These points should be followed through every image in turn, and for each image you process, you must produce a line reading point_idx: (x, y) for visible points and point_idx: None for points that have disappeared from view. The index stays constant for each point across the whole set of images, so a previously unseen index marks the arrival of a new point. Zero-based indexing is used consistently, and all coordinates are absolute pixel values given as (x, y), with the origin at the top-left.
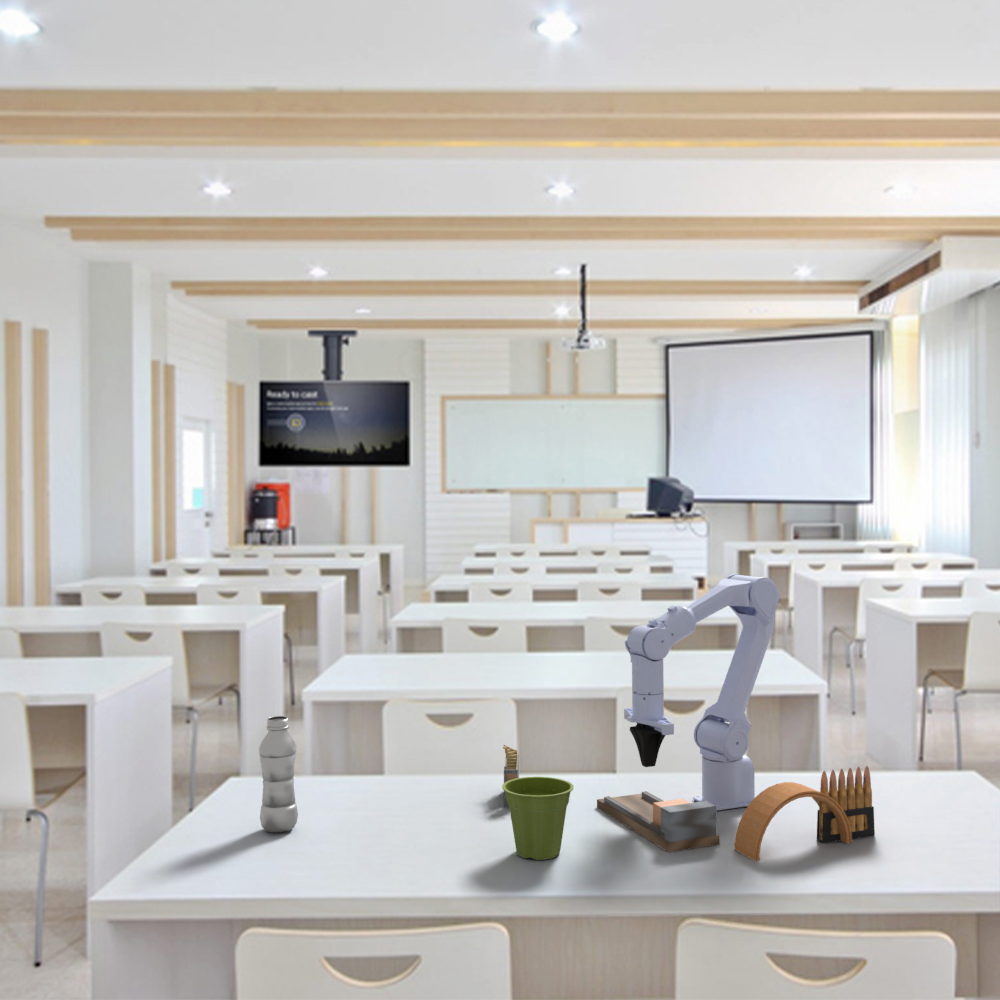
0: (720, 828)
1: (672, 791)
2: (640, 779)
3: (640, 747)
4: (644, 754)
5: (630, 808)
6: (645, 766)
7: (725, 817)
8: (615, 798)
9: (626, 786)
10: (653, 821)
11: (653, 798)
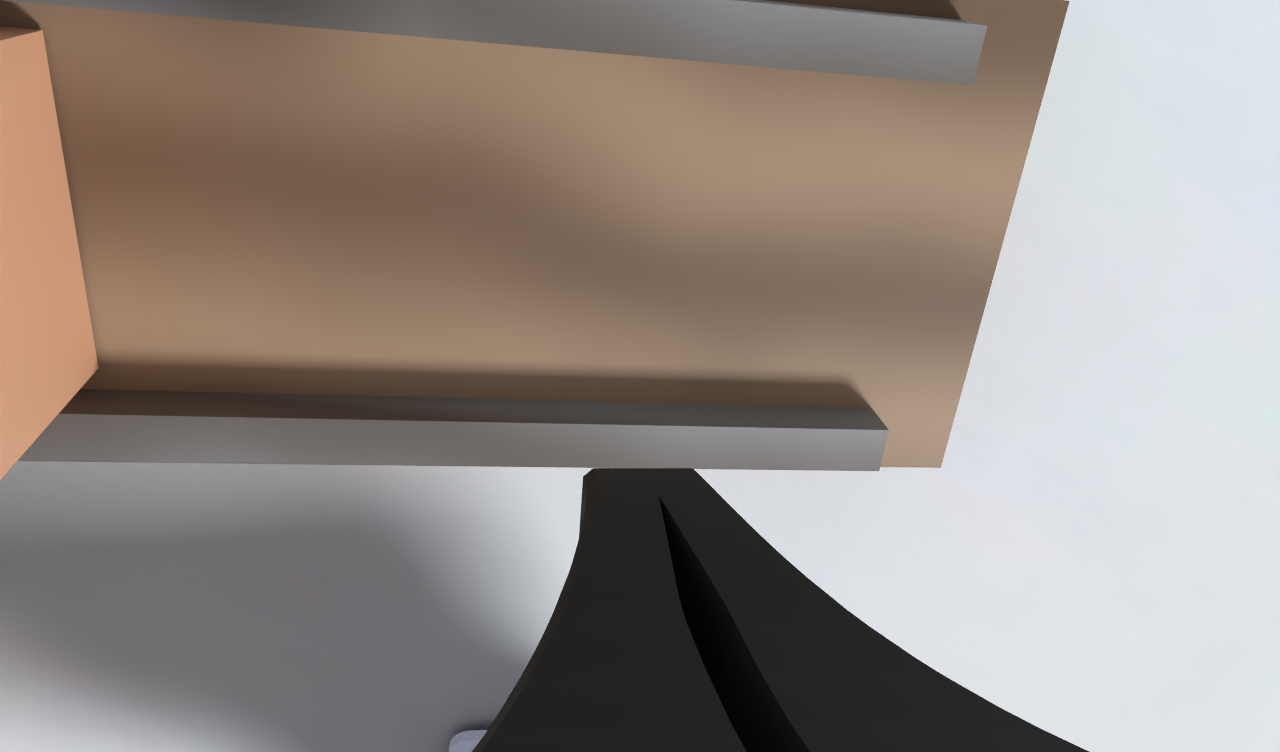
0: (93, 597)
1: None
2: (1277, 639)
3: (732, 630)
4: (572, 568)
5: (659, 146)
6: (592, 472)
7: (319, 726)
8: (977, 184)
9: (1244, 496)
10: (8, 34)
11: (682, 426)
